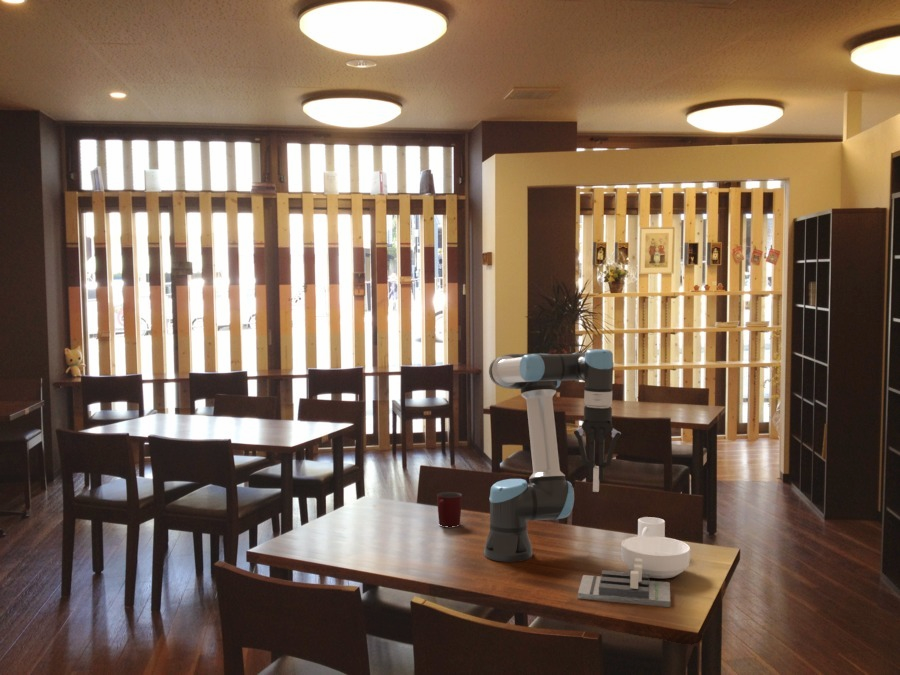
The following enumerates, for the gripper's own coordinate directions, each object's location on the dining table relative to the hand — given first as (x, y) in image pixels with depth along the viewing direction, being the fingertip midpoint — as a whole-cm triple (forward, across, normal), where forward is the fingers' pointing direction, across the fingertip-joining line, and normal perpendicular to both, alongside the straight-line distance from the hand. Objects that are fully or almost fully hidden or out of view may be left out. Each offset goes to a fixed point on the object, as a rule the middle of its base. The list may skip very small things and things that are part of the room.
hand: (595, 490), depth 221 cm
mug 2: (+29, +15, +36) cm, 49 cm away
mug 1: (+30, -55, +51) cm, 81 cm away
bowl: (+28, +17, +17) cm, 37 cm away
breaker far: (+24, +12, +4) cm, 27 cm away
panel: (+28, +8, -2) cm, 29 cm away
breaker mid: (+24, +12, -1) cm, 27 cm away
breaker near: (+24, +11, -7) cm, 27 cm away
